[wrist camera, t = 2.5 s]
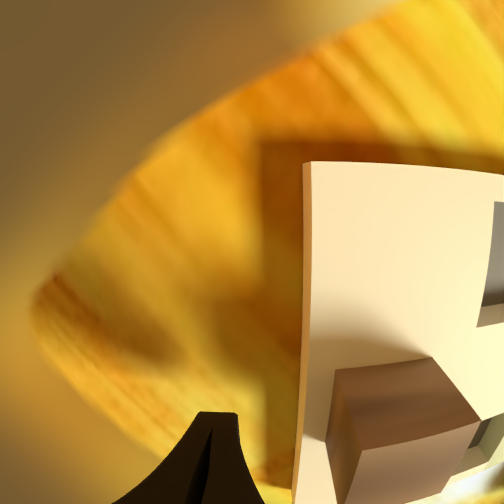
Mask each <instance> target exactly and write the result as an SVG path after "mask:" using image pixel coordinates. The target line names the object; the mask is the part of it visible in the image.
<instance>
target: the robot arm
mask: <svg viewBox="0 0 504 504" xmlns="http://www.w3.org/2000/svg"><path fill="white" fill-rule="evenodd" d="M112 504H265V503H264V501H263V500H262V498H261V496H260V494H259V492H258V490H257V488H256V486H255V484H254V482H253V479H252V477H251V475H250V472H249V470H248V467H247V465H246V462H245V459H244V456H243V452H242V449H241V445H240V436H239V425H238V415H237V414H236V413H230V412H199V413H198V414H197V415H196V417H195V419H194V420H193V422H192V424H191V425H190V427H189V428H188V430H187V431H186V432H185V434H184V435H183V437H182V438H181V439H180V441H179V442H178V443H177V445H176V446H175V447H174V448H173V450H172V451H171V452H170V453H169V455H168V456H167V457H166V458H165V459H164V460H163V461H162V462H161V464H160V465H159V466H158V467H157V468H156V469H155V470H154V471H153V472H152V473H151V474H150V475H149V476H148V477H147V478H145V479H144V480H143V481H142V482H141V483H140V484H139V485H138V486H136V487H135V488H133V489H132V490H131V491H130V492H128V493H127V494H126V495H124V496H123V497H121V498H120V499H119V500H117V501H116V502H114V503H112Z"/></svg>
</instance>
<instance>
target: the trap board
mask: <svg viewBox="0 0 504 504" xmlns="http://www.w3.org/2000/svg"><path fill="white" fill-rule="evenodd" d="M302 170H303V312H302V343H301V366H300V386H299V403H298V418H297V432H296V445H295V457H294V468H293V479H292V489H291V492H292V504H337V501H336V495H335V490H334V485H333V480H332V475H331V470H330V465H329V460H328V455H327V450H326V445H325V439H326V433H327V427H328V420H329V413H330V406H331V399H332V391H333V384H334V375H335V369H345V368H355V367H364V366H373V365H382V364H389V363H397V362H404V361H410V360H417V359H423V358H429V357H433V359H434V360H435V361H436V362H437V364H438V365H439V366H440V367H441V368H442V370H443V371H444V372H445V373H446V375H447V376H448V377H449V378H450V380H451V381H452V382H453V383H454V385H455V386H456V387H457V388H458V390H459V391H460V392H461V394H462V395H463V396H464V397H465V399H466V400H467V401H468V403H469V404H470V405H471V407H472V408H473V409H474V411H475V412H476V413H477V414H478V416H479V417H480V419H481V420H482V421H481V423H480V425H479V427H478V429H477V431H476V433H475V435H474V437H473V439H472V441H471V443H470V445H469V447H468V448H467V450H466V452H465V454H464V456H463V457H462V459H461V461H460V463H459V464H458V466H457V468H456V469H455V471H454V473H453V474H452V476H451V477H450V479H449V481H448V482H447V484H450V483H453V482H456V481H458V480H461V479H463V478H466V477H469V476H471V475H473V474H476V473H478V472H481V471H483V470H485V469H487V468H490V467H492V466H494V465H496V464H498V463H500V462H503V461H504V175H500V174H493V173H485V172H477V171H469V170H460V169H451V168H441V167H430V166H417V165H403V164H387V163H365V162H327V161H310V162H306V163H302ZM447 484H446V485H447Z"/></svg>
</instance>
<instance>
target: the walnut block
mask: <svg viewBox="0 0 504 504" xmlns="http://www.w3.org/2000/svg"><path fill="white" fill-rule="evenodd" d="M481 421H482V420H481V419H480V417H479V416H478V414H477V413H476V412H475V411H474V409H473V408H472V407H471V405H470V404H469V403H468V401H467V400H466V399H465V397H464V396H463V395H462V394H461V392H460V391H459V390H458V388H457V387H456V386H455V385H454V383H453V382H452V381H451V380H450V378H449V377H448V376H447V375H446V373H445V372H444V371H443V370H442V368H441V367H440V366H439V365H438V364H437V362H436V361H435V360H434V359H433V357H429V358H423V359H417V360H410V361H404V362H397V363H389V364H382V365H373V366H364V367H355V368H345V369H335V375H334V384H333V391H332V399H331V406H330V413H329V420H328V427H327V433H326V439H325V445H326V450H327V455H328V460H329V465H330V470H331V475H332V480H333V485H334V490H335V495H336V501H337V504H405V503H408V502H412V501H415V500H419V499H422V498H425V497H429V496H432V495H435V494H438V493H441V491H442V490H443V488H444V487H445V485H446V484H447V482H448V481H449V479H450V477H451V476H452V474H453V473H454V471H455V469H456V468H457V466H458V464H459V463H460V461H461V459H462V457H463V456H464V454H465V452H466V450H467V448H468V447H469V445H470V443H471V441H472V439H473V437H474V435H475V433H476V431H477V429H478V427H479V425H480V423H481Z"/></svg>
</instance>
